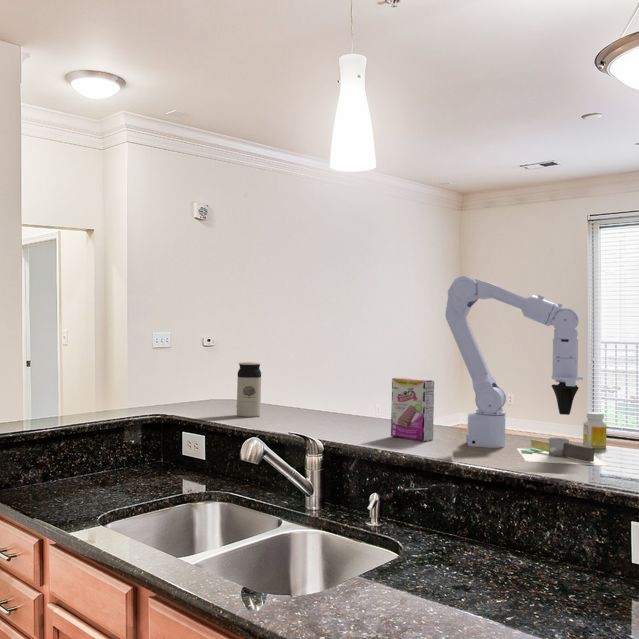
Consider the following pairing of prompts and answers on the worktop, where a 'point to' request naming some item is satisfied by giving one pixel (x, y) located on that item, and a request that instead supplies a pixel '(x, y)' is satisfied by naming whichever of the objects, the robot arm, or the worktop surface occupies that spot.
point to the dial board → (553, 457)
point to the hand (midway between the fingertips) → (564, 414)
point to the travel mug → (249, 389)
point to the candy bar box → (412, 408)
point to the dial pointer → (565, 449)
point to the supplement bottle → (594, 431)
